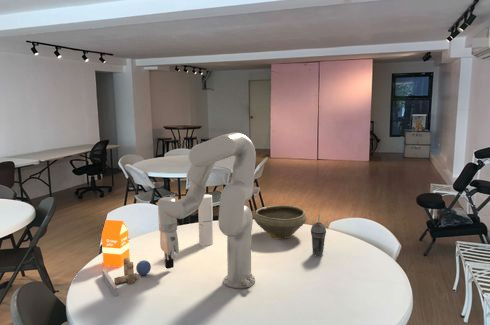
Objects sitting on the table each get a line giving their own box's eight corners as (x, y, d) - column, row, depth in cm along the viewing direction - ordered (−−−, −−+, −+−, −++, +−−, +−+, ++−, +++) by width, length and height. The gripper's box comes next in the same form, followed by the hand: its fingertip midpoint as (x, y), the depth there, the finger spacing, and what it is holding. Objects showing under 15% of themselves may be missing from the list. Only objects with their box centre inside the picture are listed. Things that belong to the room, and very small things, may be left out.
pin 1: (131, 278, 160) (130, 259, 159) (125, 280, 159) (124, 260, 158) (129, 276, 162) (128, 257, 161) (123, 277, 161) (122, 258, 160)
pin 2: (135, 283, 156) (134, 263, 155) (128, 285, 155) (127, 264, 153) (133, 281, 158) (132, 261, 157) (127, 282, 157) (126, 262, 155)
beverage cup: (324, 251, 188) (325, 211, 185) (326, 257, 181) (327, 216, 178) (309, 251, 189) (310, 211, 186) (310, 257, 181) (311, 215, 178)
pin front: (136, 273, 159) (115, 278, 154) (137, 279, 159) (116, 285, 154) (135, 272, 161) (114, 277, 156) (135, 278, 161) (114, 283, 156)
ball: (134, 271, 159) (148, 276, 160) (139, 257, 162) (153, 262, 163) (133, 273, 165) (147, 277, 166) (138, 259, 167) (152, 263, 168)
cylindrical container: (212, 246, 196) (211, 197, 192) (198, 245, 196) (197, 197, 193) (213, 241, 203) (212, 194, 199) (200, 241, 203) (199, 194, 200)
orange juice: (121, 267, 172) (118, 223, 168) (103, 265, 173) (100, 222, 170) (130, 260, 179) (127, 218, 176) (112, 258, 181) (110, 217, 178)
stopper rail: (117, 295, 146) (117, 288, 146) (114, 296, 146) (114, 288, 145) (105, 275, 163) (105, 268, 163) (102, 276, 162) (102, 269, 162)
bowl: (313, 233, 215) (314, 208, 213) (292, 249, 192) (293, 222, 190) (269, 224, 230) (269, 201, 228) (244, 237, 207) (244, 212, 205)
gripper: (183, 229, 160) (184, 271, 163) (169, 220, 173) (171, 259, 176) (165, 233, 156) (167, 276, 159) (153, 223, 169) (155, 263, 172)
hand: (169, 267), depth 167 cm, fingers closed
